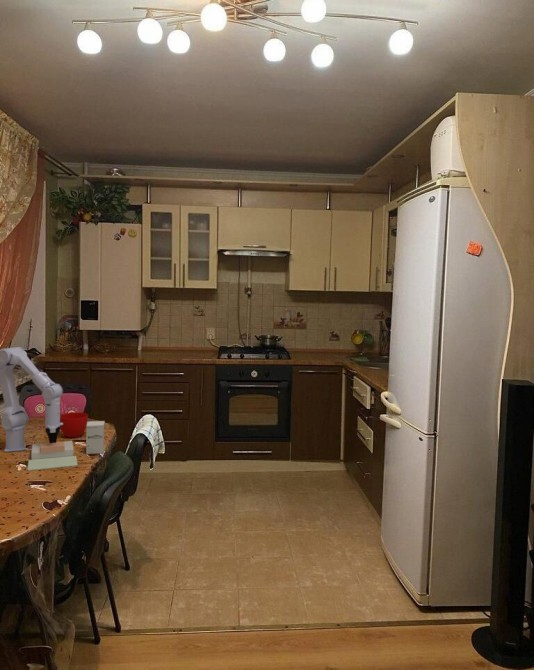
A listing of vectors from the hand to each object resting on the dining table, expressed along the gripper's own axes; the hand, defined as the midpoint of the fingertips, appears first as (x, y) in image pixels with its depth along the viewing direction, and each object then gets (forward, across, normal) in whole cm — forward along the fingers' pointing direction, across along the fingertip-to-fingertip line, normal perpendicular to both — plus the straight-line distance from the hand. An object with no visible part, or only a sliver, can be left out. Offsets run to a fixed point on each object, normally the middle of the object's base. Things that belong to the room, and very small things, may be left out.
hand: (52, 445), depth 215 cm
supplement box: (+4, -2, -17) cm, 18 cm away
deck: (+4, 0, 0) cm, 4 cm away
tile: (+1, -4, 0) cm, 4 cm away
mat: (+4, -13, 0) cm, 14 cm away
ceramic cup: (+4, +27, -10) cm, 29 cm away
